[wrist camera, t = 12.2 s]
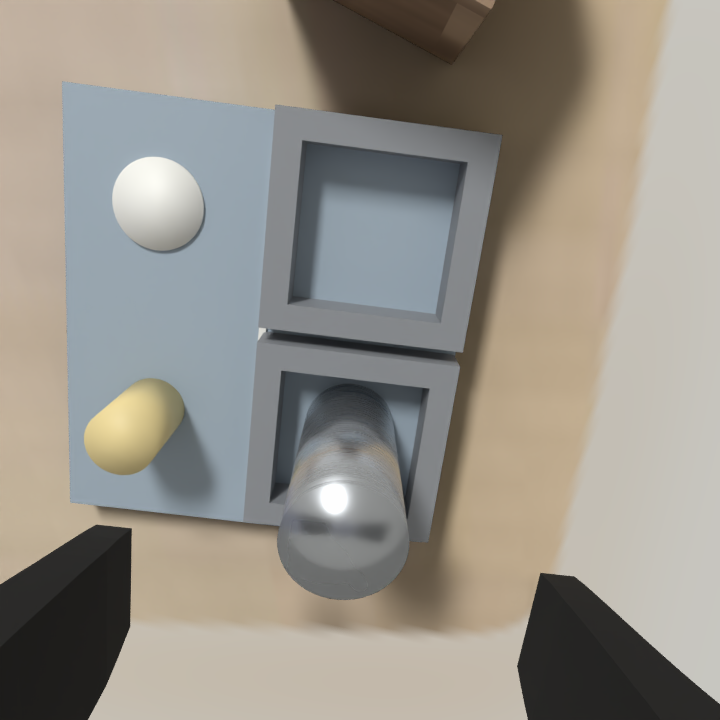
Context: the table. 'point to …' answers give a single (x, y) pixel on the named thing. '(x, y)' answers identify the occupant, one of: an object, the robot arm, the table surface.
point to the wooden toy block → (427, 21)
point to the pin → (345, 498)
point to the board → (258, 292)
